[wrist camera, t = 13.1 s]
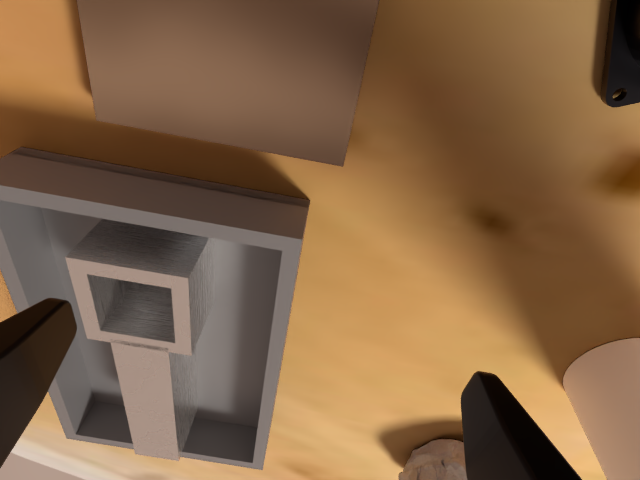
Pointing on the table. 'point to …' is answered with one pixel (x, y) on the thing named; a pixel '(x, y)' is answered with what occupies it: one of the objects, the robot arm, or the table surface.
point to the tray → (225, 315)
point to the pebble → (436, 462)
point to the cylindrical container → (609, 404)
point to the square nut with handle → (148, 321)
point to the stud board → (232, 70)
